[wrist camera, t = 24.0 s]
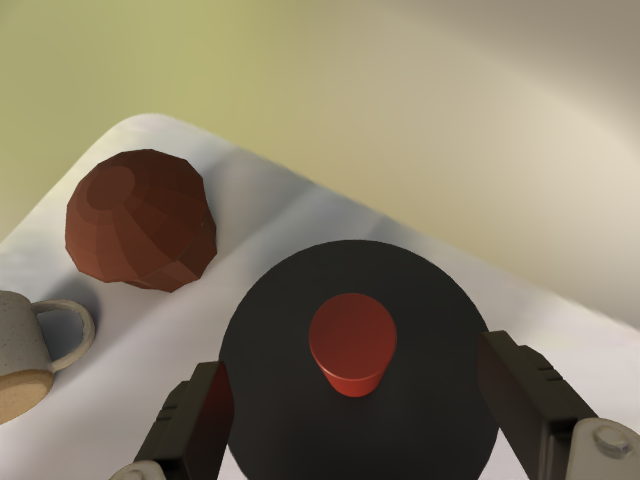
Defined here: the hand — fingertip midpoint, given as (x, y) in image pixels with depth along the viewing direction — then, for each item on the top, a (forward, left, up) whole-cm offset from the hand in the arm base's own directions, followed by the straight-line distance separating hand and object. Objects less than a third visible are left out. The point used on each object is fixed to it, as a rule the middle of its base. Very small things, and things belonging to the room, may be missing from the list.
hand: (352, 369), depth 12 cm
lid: (+1, +1, -8) cm, 9 cm away
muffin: (-4, +21, -19) cm, 28 cm away
